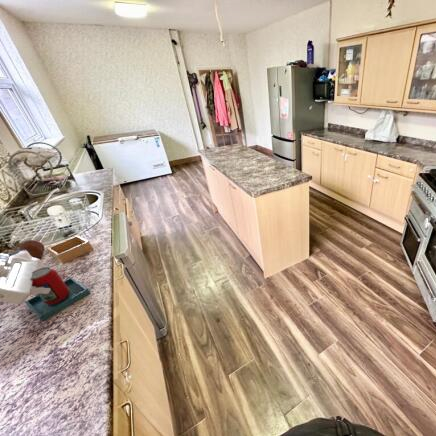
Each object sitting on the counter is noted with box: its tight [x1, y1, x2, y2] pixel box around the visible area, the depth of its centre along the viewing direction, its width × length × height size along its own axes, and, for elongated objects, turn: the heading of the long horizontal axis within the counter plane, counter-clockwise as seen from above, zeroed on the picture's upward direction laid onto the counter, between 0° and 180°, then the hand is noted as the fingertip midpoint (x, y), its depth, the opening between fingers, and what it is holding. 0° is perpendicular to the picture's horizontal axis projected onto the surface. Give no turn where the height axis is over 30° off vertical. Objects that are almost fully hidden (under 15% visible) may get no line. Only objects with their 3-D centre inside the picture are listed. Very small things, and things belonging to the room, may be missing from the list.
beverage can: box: [30, 266, 70, 305], centre depth 79 cm, size 7×7×12 cm
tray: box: [24, 276, 91, 323], centre depth 82 cm, size 13×13×2 cm
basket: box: [46, 235, 94, 265], centre depth 106 cm, size 12×12×4 cm
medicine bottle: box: [7, 249, 46, 269], centre depth 90 cm, size 7×7×12 cm
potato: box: [18, 239, 45, 259], centre depth 104 cm, size 8×12×8 cm, turn 47°
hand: (51, 283), depth 79 cm, fingers closed on beverage can, 7 cm apart
